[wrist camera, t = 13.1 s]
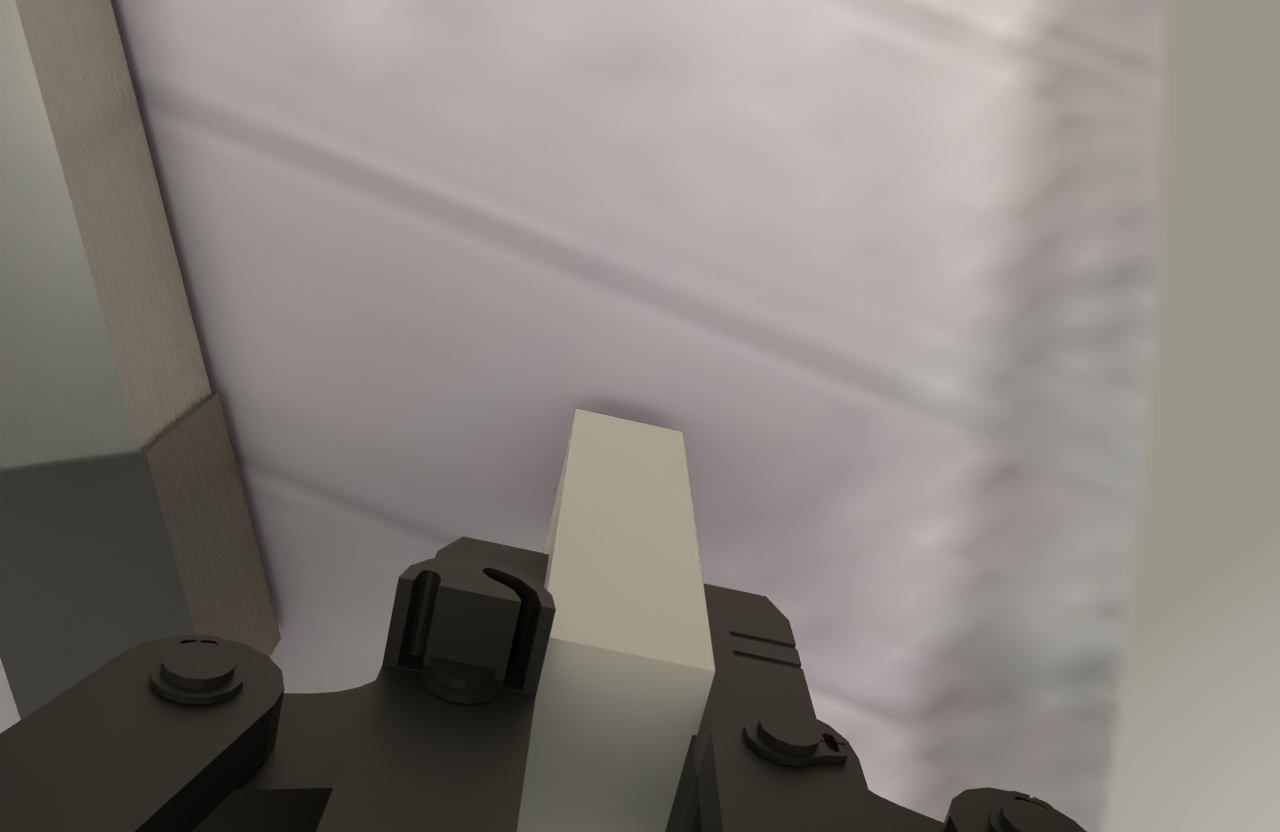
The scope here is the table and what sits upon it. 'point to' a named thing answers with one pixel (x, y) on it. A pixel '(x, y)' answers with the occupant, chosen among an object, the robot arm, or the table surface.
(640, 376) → the table surface
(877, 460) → the table surface
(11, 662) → the tong jaw
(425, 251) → the table surface
